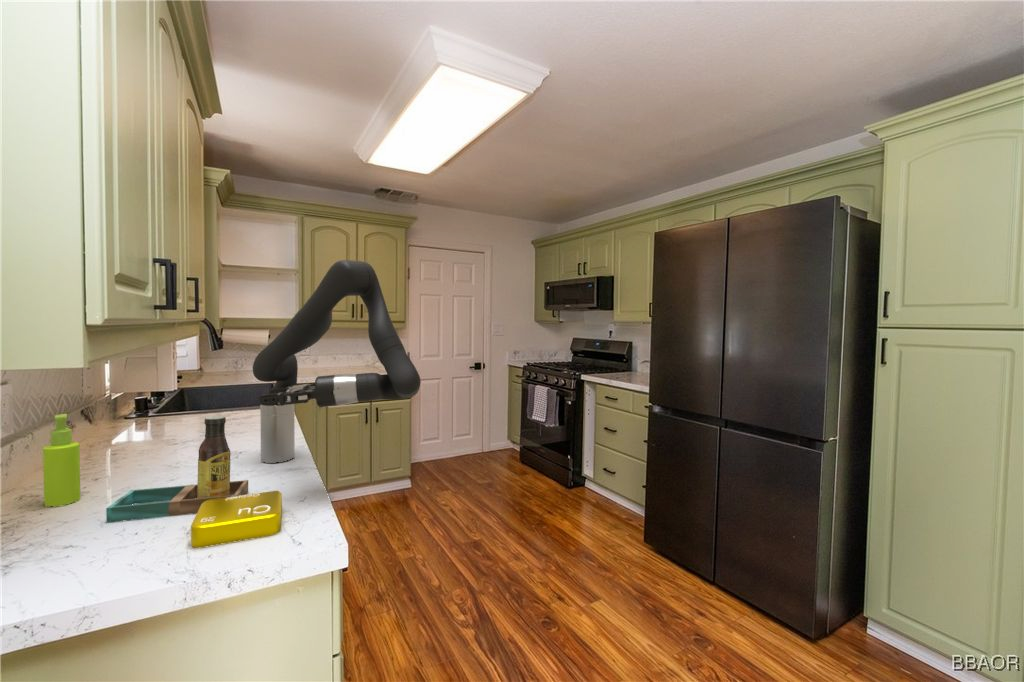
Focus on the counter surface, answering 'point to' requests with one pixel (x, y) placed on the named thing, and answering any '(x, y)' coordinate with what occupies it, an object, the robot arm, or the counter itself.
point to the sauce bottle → (214, 460)
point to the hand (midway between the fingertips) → (265, 396)
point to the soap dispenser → (61, 466)
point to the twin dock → (174, 498)
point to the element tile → (237, 518)
